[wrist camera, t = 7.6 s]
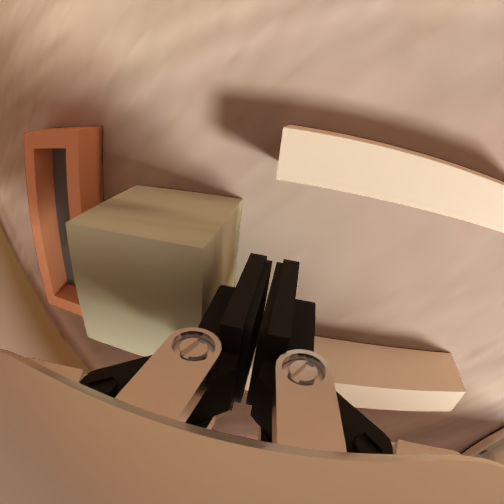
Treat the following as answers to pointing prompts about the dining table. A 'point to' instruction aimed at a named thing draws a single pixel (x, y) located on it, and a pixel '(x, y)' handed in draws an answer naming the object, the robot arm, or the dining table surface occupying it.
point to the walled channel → (406, 193)
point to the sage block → (151, 263)
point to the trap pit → (61, 199)
